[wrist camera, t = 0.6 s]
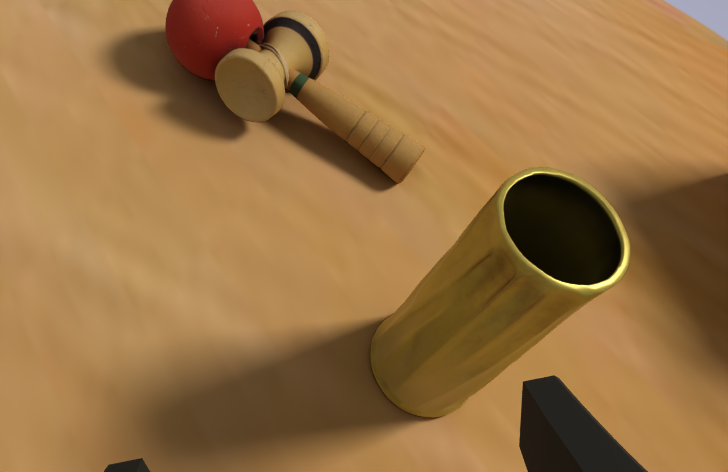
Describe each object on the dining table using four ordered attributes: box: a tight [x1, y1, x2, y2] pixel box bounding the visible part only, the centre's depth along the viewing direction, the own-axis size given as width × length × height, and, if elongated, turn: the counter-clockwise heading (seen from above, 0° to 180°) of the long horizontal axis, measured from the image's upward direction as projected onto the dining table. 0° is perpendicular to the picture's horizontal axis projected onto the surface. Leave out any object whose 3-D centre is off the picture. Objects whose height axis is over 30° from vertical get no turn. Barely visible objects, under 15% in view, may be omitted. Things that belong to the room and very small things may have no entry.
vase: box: [370, 167, 630, 417], centre depth 26 cm, size 6×6×14 cm
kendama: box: [166, 0, 425, 184], centre depth 37 cm, size 8×6×18 cm
